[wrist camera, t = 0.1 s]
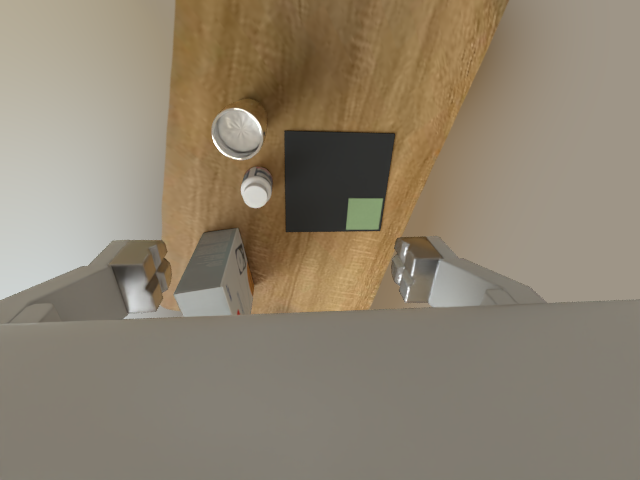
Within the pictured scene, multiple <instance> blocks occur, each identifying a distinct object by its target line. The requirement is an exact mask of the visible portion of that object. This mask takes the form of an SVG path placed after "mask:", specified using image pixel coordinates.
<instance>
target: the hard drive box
mask: <svg viewBox="0 0 640 480" xmlns="http://www.w3.org/2000/svg"><path fill="white" fill-rule="evenodd" d="M253 292H254V284H253V280H252V276H251V272H250V269H249V265H248V262H247V258H246V254H245V250H244V246H243V243H242V239H241V236H240V232H239V229H238V228H234V229H227V230H220V231H213V232H207V233H203V234H202V236H201V238H200V240H199V243H198V245H197V247H196V249H195V251H194V253H193V255H192V257H191V259H190V261H189V263H188V265H187V267H186V269H185V272H184V274H183V276H182V278H181V280H180V282H179V284H178V286H177V288H176V290H175V292H174V297H175V299H176V302H177V304H178V306H179V309H180V311H181V313H182V315H183V317H196V316H222V315H248V314H251V309H252V301H253Z"/></svg>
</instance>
